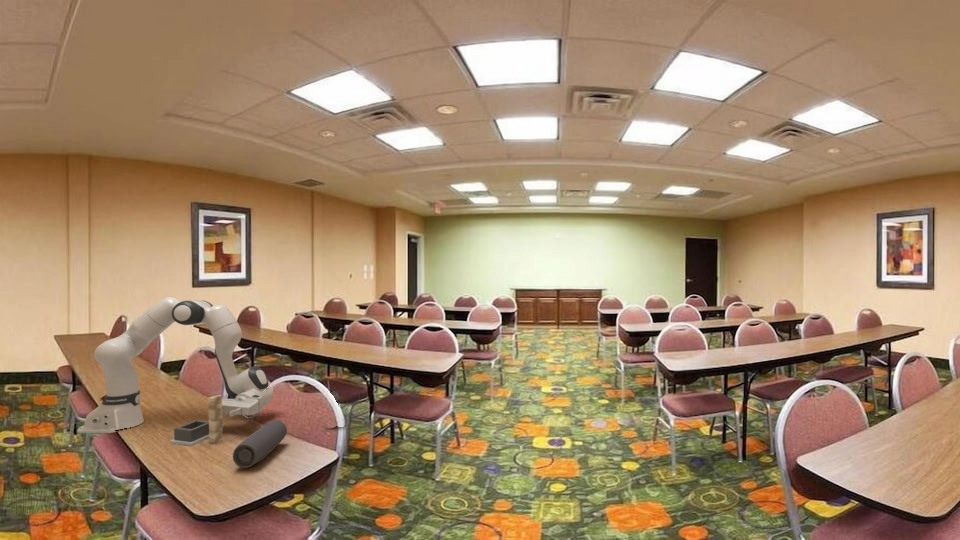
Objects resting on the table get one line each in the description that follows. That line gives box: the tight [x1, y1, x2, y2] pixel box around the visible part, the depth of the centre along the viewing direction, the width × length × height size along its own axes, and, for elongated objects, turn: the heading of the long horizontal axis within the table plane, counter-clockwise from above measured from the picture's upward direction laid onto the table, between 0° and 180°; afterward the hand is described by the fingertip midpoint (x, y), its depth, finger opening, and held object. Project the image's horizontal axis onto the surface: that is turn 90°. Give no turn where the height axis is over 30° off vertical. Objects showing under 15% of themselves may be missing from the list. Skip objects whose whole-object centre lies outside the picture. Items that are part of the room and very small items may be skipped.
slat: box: [207, 394, 224, 445], centre depth 177 cm, size 4×2×18 cm, turn 165°
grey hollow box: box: [169, 419, 209, 447], centre depth 180 cm, size 12×10×6 cm
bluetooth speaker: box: [232, 419, 288, 469], centre depth 163 cm, size 23×9×10 cm, turn 178°
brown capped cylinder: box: [327, 380, 341, 406], centre depth 191 cm, size 7×7×20 cm
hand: (219, 413), depth 178 cm, fingers open, 8 cm apart
